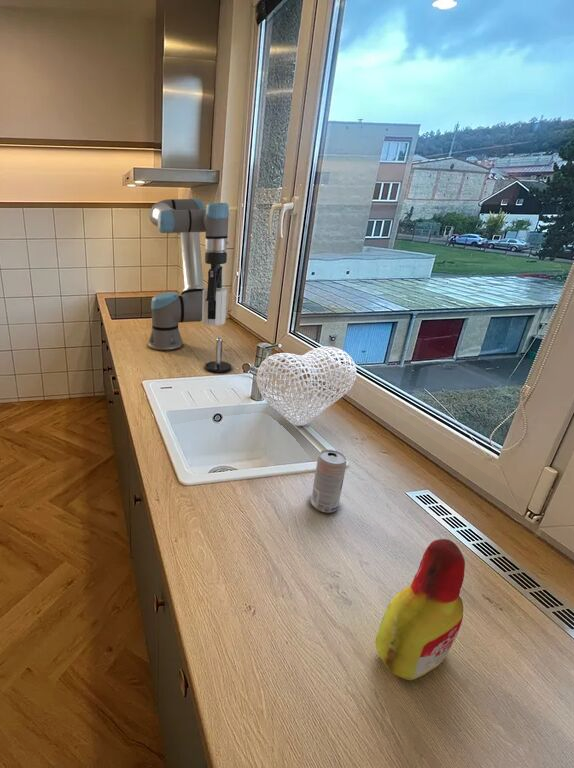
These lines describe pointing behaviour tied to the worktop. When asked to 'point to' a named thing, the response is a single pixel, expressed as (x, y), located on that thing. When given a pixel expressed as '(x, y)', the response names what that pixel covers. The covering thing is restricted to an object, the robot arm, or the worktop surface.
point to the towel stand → (218, 361)
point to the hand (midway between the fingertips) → (214, 315)
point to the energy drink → (328, 480)
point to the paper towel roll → (220, 308)
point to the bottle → (424, 614)
